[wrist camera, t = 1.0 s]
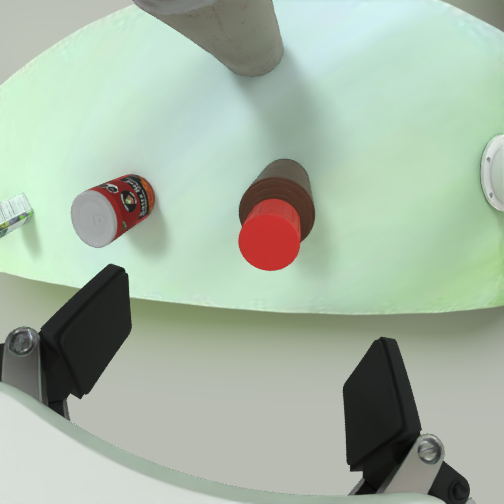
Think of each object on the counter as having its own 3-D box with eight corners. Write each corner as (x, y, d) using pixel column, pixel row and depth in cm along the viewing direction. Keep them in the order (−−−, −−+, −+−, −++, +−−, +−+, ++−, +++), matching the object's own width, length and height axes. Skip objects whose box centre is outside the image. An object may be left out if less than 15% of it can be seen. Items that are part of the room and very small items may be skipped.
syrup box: (26, 224, 47) (-17, 250, 34) (16, 204, 45) (-28, 227, 32) (34, 212, 45) (-14, 238, 32) (23, 191, 43) (-24, 213, 30)
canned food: (163, 211, 40) (123, 239, 30) (126, 225, 42) (85, 254, 32) (145, 165, 37) (98, 181, 27) (109, 184, 39) (63, 204, 29)
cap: (306, 206, 20) (307, 223, 16) (292, 253, 21) (290, 277, 18) (254, 192, 20) (244, 206, 16) (243, 240, 22) (232, 262, 18)
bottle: (314, 166, 33) (332, 207, 16) (302, 211, 36) (302, 292, 19) (266, 153, 34) (230, 181, 16) (256, 199, 37) (215, 269, 19)
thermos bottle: (243, 17, 25) (141, -116, 1) (295, 42, 26) (274, -117, 1) (210, 60, 29) (47, -19, 4) (261, 87, 30) (148, -12, 5)
